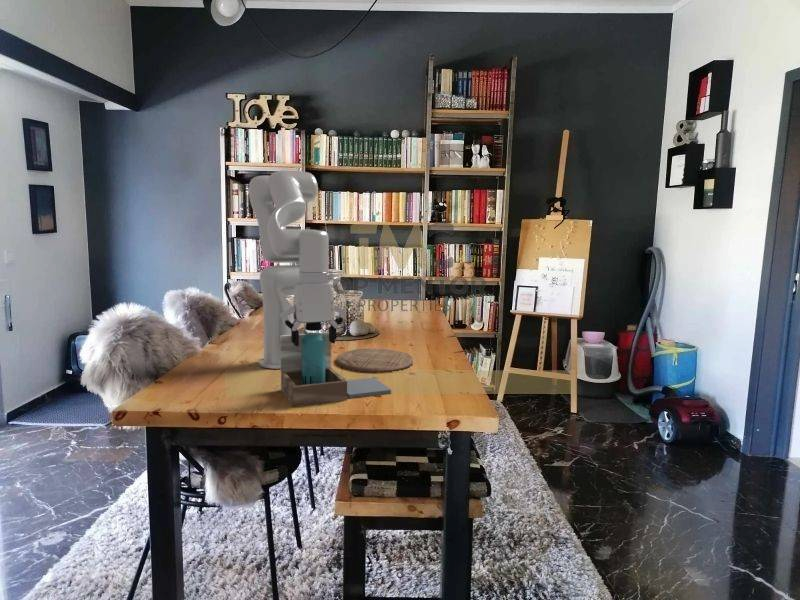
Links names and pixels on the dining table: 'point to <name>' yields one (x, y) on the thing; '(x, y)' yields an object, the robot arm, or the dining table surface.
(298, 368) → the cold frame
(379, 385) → the slate mat
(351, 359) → the trivet
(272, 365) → the robot arm
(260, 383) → the dining table surface
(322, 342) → the beverage bottle
